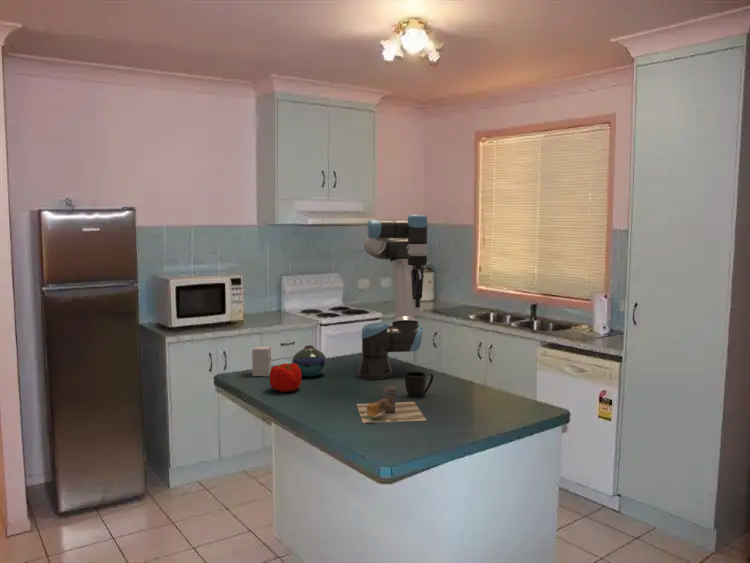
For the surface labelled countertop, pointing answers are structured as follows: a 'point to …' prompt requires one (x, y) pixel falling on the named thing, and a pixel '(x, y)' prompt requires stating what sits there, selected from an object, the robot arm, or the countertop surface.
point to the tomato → (285, 377)
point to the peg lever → (383, 402)
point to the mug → (416, 383)
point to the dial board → (393, 413)
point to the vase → (310, 361)
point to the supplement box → (261, 360)
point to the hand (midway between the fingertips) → (416, 315)
